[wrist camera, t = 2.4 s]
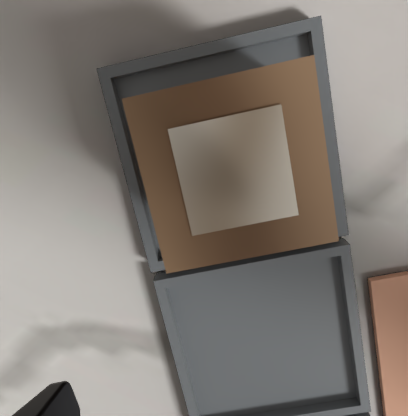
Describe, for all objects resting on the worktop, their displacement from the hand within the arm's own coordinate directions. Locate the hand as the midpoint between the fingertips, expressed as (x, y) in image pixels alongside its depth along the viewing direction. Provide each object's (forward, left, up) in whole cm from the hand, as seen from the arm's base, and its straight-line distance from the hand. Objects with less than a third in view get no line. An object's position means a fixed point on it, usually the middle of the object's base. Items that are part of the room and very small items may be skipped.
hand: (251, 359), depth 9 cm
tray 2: (-1, +7, -11) cm, 13 cm away
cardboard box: (-1, -4, -10) cm, 11 cm away
